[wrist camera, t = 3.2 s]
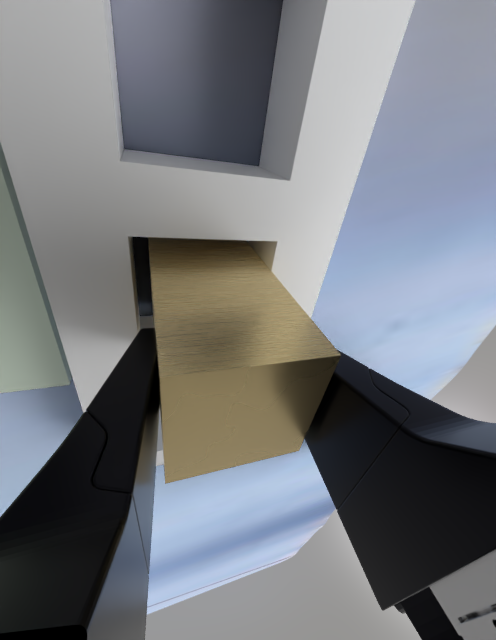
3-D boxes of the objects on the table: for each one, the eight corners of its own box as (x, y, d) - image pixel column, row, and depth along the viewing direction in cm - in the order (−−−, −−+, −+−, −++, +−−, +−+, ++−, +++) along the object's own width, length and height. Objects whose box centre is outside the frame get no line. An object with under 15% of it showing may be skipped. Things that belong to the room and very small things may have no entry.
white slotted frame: (255, 403, 21) (270, 440, 18) (107, 429, 17) (103, 477, 15) (371, -67, 8) (459, -133, 6) (-65, -285, 5) (-228, -605, 3)
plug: (230, 305, 14) (298, 450, 8) (152, 309, 13) (165, 483, 7) (239, 232, 12) (341, 355, 6) (147, 228, 11) (159, 377, 5)
